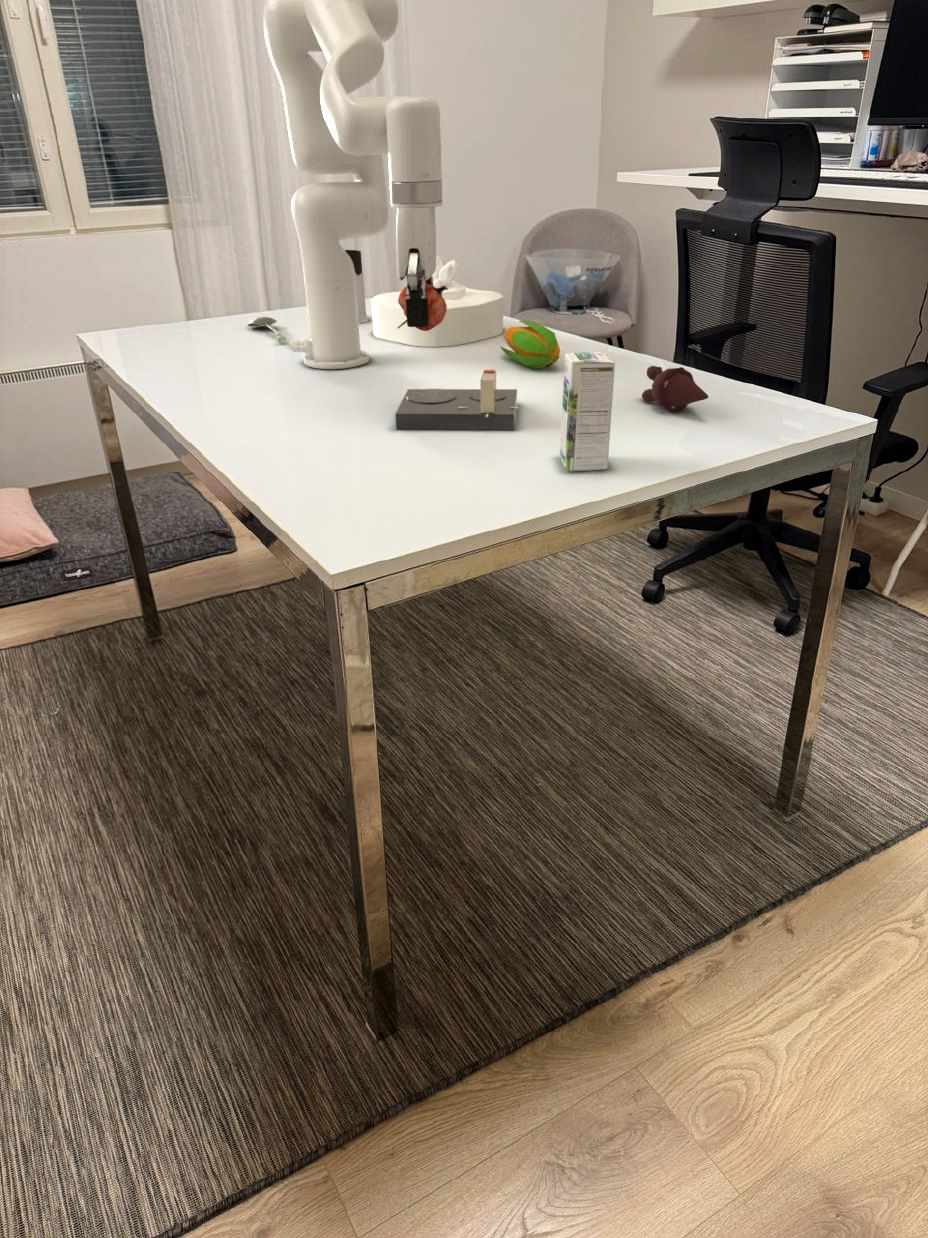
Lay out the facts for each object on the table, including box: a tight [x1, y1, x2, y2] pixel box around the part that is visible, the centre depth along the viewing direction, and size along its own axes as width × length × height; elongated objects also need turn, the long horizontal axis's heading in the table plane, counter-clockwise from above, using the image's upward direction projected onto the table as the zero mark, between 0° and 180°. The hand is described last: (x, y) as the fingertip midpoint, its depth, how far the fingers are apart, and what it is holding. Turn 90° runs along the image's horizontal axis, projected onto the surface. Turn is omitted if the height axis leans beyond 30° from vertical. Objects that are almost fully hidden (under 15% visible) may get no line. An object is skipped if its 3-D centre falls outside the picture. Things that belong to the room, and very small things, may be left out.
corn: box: [500, 319, 561, 370], centre depth 175 cm, size 7×8×20 cm
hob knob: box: [479, 369, 497, 413], centre depth 140 cm, size 5×2×5 cm, turn 174°
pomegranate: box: [397, 283, 448, 331], centre depth 141 cm, size 7×7×10 cm
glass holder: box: [344, 249, 369, 324], centre depth 214 cm, size 9×14×15 cm, turn 171°
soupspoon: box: [247, 316, 287, 345], centre depth 203 cm, size 22×3×7 cm
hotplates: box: [407, 388, 507, 404], centre depth 147 cm, size 16×8×1 cm, turn 85°
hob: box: [395, 388, 520, 431], centre depth 145 cm, size 19×16×3 cm
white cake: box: [370, 254, 504, 348], centre depth 198 cm, size 25×25×16 cm
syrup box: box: [559, 351, 616, 472], centre depth 122 cm, size 6×6×14 cm
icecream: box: [641, 365, 709, 413], centre depth 145 cm, size 7×7×15 cm
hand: (421, 320), depth 142 cm, fingers closed on pomegranate, 7 cm apart
